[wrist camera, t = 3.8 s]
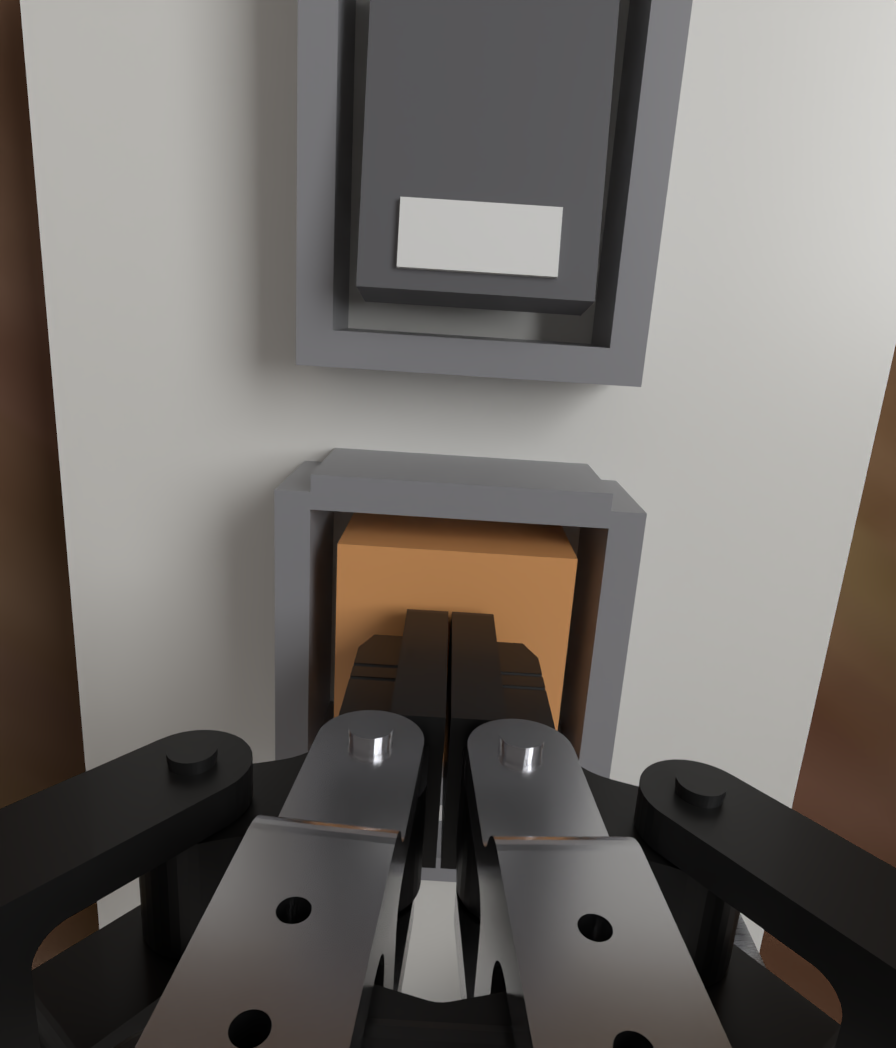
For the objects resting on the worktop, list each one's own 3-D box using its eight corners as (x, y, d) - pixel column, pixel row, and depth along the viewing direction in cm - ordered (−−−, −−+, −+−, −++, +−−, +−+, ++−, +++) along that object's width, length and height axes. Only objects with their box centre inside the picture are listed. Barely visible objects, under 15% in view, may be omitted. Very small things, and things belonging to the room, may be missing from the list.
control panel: (887, -5, 15) (1124, -182, 10) (695, 973, 22) (771, 1185, 16) (95, -58, 15) (-108, -265, 9) (155, 940, 22) (57, 1142, 16)
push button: (558, 519, 15) (577, 559, 12) (539, 700, 16) (553, 767, 13) (356, 506, 15) (337, 544, 12) (351, 689, 16) (333, 754, 13)
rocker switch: (607, -19, 12) (627, -76, 10) (580, 315, 12) (596, 300, 11) (382, -33, 12) (373, -93, 10) (365, 302, 12) (354, 284, 11)
